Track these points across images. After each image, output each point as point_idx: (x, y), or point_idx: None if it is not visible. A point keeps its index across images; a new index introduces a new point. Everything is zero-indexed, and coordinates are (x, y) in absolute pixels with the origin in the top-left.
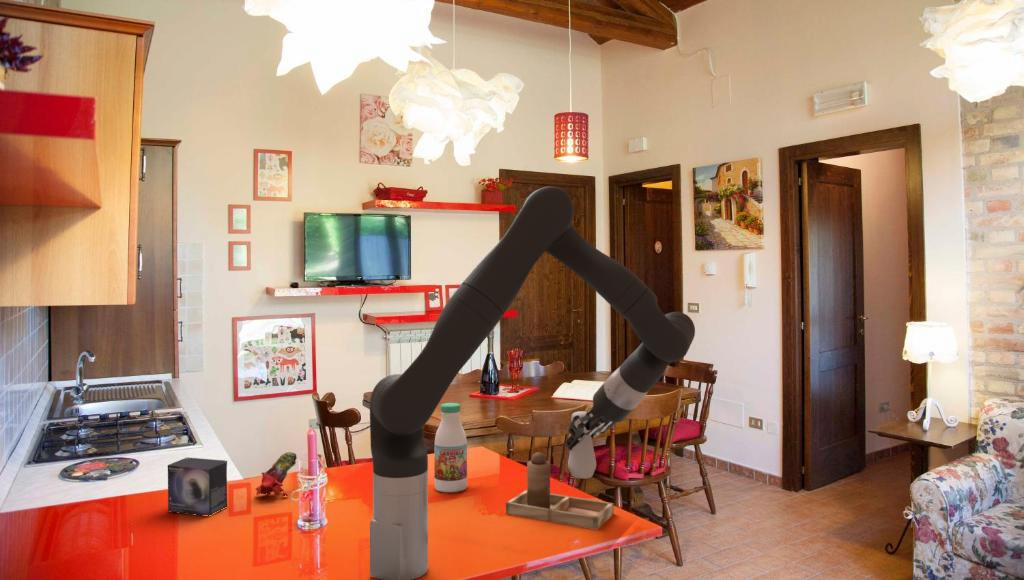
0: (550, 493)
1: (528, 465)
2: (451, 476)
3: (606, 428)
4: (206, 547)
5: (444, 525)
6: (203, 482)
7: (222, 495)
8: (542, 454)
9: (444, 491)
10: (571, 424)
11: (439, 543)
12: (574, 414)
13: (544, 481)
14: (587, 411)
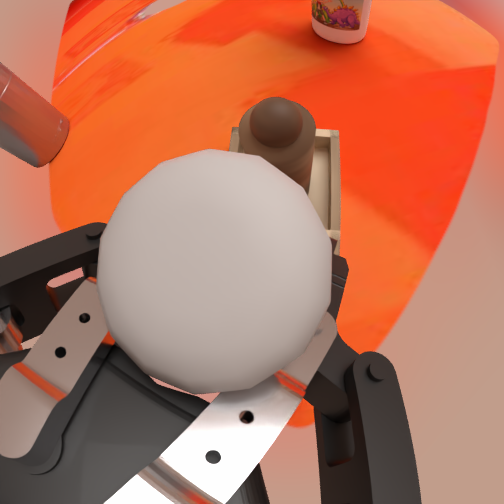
0: (339, 186)
1: (249, 112)
2: (318, 15)
3: (319, 444)
4: (96, 13)
5: (175, 87)
6: None
7: None
8: (271, 123)
9: (313, 28)
10: (13, 257)
11: (113, 122)
12: (121, 198)
13: None
14: (7, 375)
